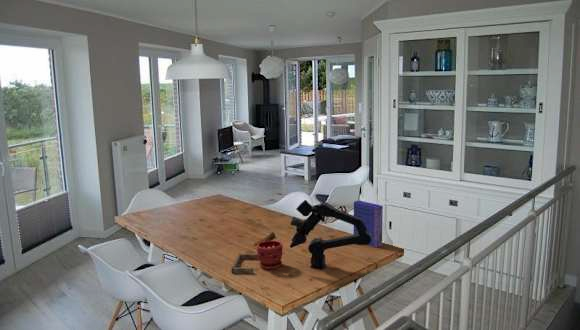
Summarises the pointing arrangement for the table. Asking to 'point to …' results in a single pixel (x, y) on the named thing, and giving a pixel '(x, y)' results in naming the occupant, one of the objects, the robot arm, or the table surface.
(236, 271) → the walnut corral
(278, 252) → the plant pot
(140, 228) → the table surface
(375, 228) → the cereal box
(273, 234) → the primitive tool
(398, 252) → the table surface
